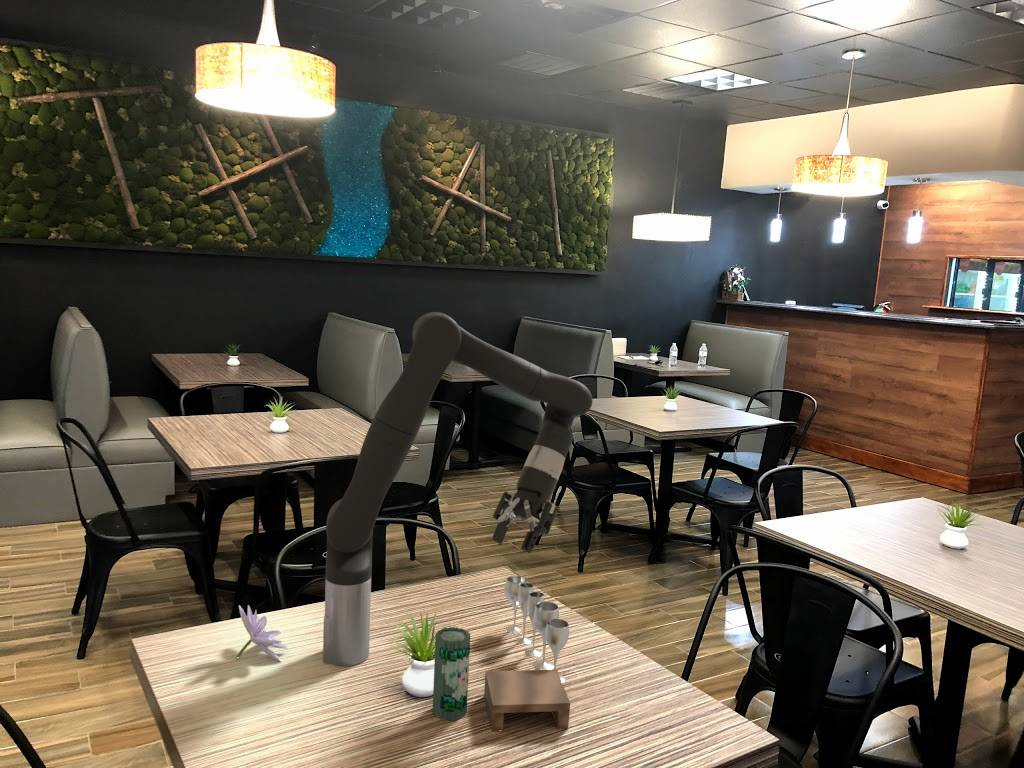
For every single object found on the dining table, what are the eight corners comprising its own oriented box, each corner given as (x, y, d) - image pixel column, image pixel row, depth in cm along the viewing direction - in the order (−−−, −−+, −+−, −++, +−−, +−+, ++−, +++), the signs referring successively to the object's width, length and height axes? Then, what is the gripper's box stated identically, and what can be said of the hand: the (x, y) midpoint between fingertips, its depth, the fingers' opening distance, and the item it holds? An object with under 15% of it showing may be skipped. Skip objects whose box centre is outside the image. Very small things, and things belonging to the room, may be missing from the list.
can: (448, 724, 145) (452, 645, 142) (426, 710, 149) (429, 634, 146) (472, 711, 149) (476, 635, 147) (450, 698, 153) (453, 624, 151)
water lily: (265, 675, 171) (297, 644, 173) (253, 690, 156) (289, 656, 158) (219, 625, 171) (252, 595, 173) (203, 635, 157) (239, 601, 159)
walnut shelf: (491, 731, 143) (493, 705, 142) (484, 695, 155) (485, 671, 154) (568, 728, 145) (570, 702, 144) (555, 693, 157) (556, 669, 156)
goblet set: (572, 682, 161) (576, 620, 160) (545, 686, 159) (549, 623, 157) (521, 623, 187) (524, 568, 185) (498, 625, 185) (501, 570, 183)
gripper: (506, 460, 167) (475, 533, 162) (554, 469, 156) (523, 547, 152) (528, 475, 171) (499, 546, 167) (577, 484, 161) (547, 561, 156)
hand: (510, 546), depth 159 cm, fingers open, 8 cm apart
